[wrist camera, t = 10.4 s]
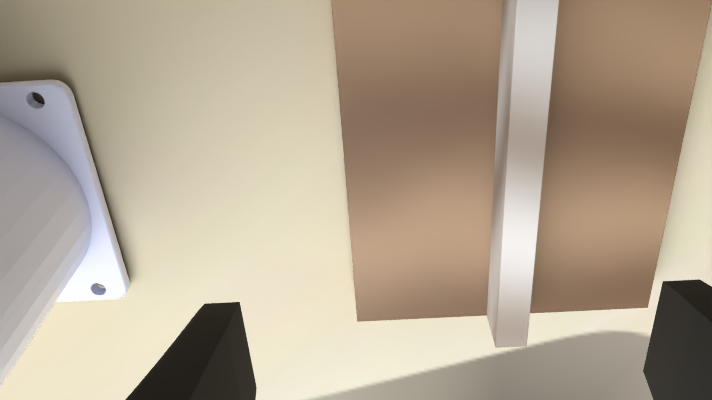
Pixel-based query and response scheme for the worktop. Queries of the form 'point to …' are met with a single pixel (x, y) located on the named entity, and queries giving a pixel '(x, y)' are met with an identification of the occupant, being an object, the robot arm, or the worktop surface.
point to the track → (511, 152)
